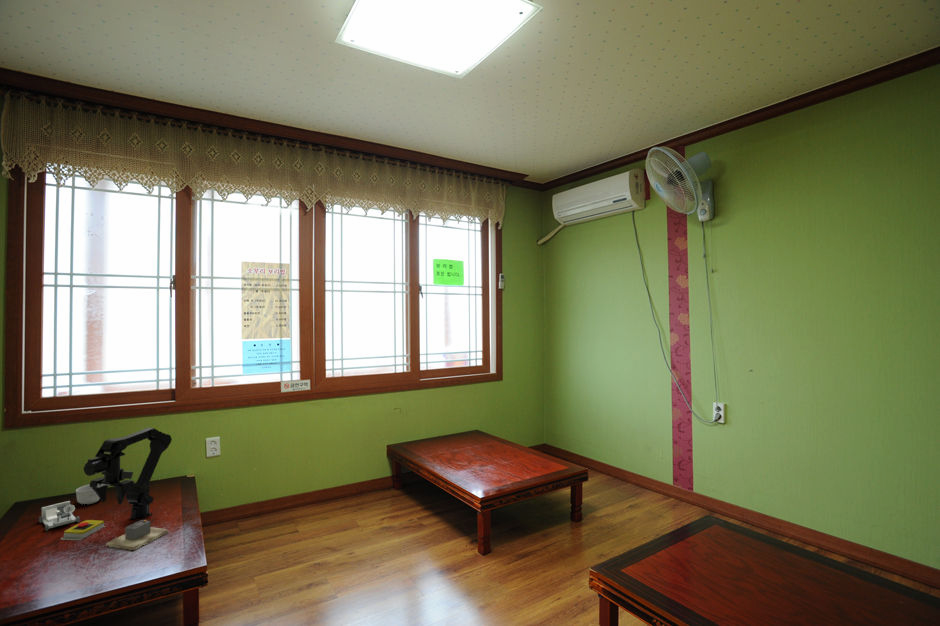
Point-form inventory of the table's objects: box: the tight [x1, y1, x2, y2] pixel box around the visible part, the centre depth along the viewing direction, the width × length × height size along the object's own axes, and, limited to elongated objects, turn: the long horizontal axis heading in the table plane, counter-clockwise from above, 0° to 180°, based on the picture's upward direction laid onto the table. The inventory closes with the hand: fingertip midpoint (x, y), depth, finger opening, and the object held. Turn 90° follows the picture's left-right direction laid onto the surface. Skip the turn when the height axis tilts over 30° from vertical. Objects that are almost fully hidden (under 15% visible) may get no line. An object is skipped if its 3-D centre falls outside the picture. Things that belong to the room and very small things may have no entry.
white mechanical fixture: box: [38, 500, 81, 532], centre depth 214 cm, size 18×10×12 cm
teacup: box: [75, 483, 101, 505], centre depth 239 cm, size 14×11×8 cm
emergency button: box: [60, 519, 105, 541], centre depth 206 cm, size 9×4×15 cm
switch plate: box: [106, 522, 169, 551], centre depth 200 cm, size 16×14×6 cm
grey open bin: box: [124, 519, 151, 541], centre depth 200 cm, size 7×5×5 cm, turn 166°
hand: (112, 503), depth 208 cm, fingers open, 9 cm apart
